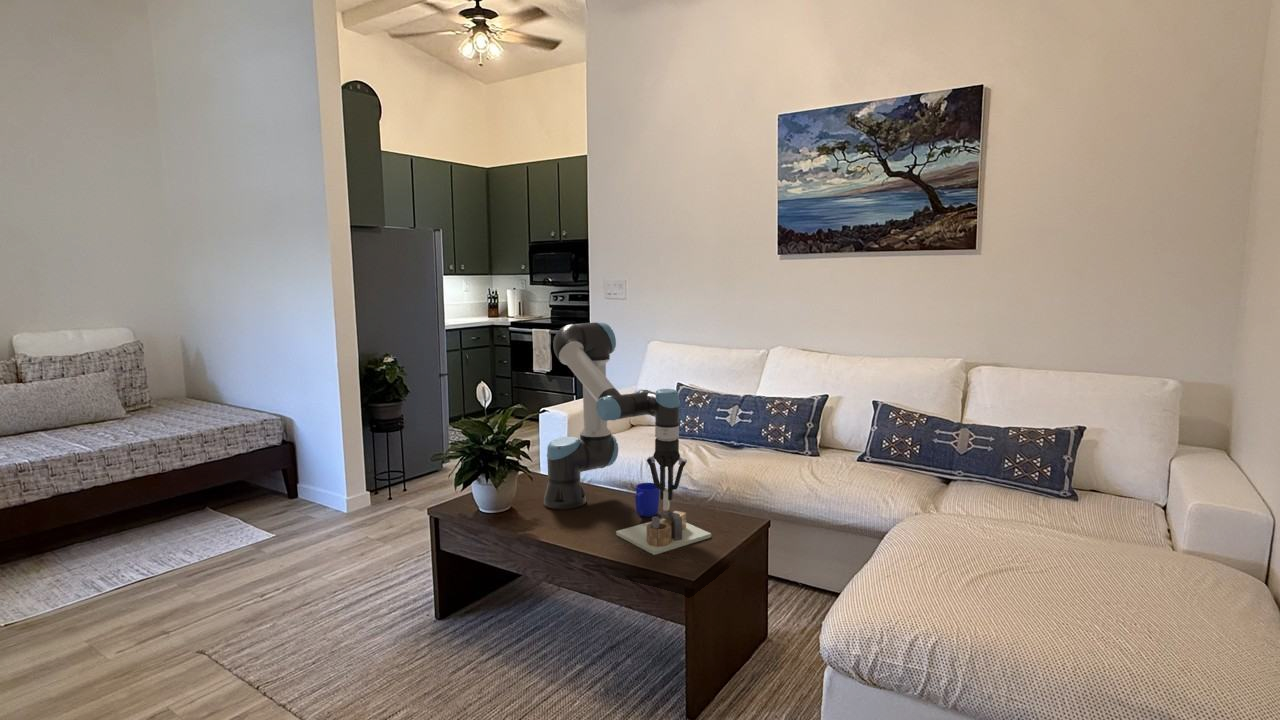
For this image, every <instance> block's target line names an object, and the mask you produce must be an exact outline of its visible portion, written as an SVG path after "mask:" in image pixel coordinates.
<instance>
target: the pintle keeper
mask: <svg viewBox="0 0 1280 720" xmlns="http://www.w3.org/2000/svg"><path fill="white" fill-rule="evenodd" d="M662 518H664V519H667V520H671V521H672V539H673V540H675V541H677V540H682V517H680V514H677V513H674V511H669V510H668V511H664V512H662V513H661V514H660V516H656V515H654V516H651V521H652V528H654V529H660V519H662Z"/></svg>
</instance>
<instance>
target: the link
mask: <svg viewBox="0 0 1280 720" xmlns="http://www.w3.org/2000/svg"><path fill="white" fill-rule="evenodd" d="M673 512H674V513H677V514H680V517H682V530H684V529H685V528H686V523H687V512H684V511H679V510H674V511H673ZM661 519H662V518H661ZM671 538H672V521H671V520H667V519H664V518H663V519H662V520H660V529H654V528H652V523H650V524H648V525H647V543H648V544H649V545H651V546H656V547H661V546H667V545H669V544H670V543H671Z"/></svg>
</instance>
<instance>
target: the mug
mask: <svg viewBox="0 0 1280 720" xmlns="http://www.w3.org/2000/svg"><path fill="white" fill-rule="evenodd" d="M635 491H636V492H635V495H634V496H635V499H634V500H635V507H636V508H635V509H636V513H637V514H638V515H639V516H641V517H642V516H643V517H646V518H647V517H648V518H651V517H654V516H656V515H657V514H658V513H659V503H660V502H659V501H660V489H659V488H655V486H654V482H643V483H638V484H636V485H635Z"/></svg>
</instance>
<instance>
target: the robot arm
mask: <svg viewBox="0 0 1280 720" xmlns="http://www.w3.org/2000/svg"><path fill="white" fill-rule="evenodd" d="M552 343H553V344H552V345H553V347H552V348H553V351H554V354H555V356H556V358H557V360H558V361H559V362H560V363H561V364H563V365H565V366H567V367H568V368H569V369H570V370H571V372H572V373H573V374H574V375H575V377H576V378H577V380H579V381H580V383H581V384H582V400H583V401H582V402H583V429H582V430H581V431H580V432H579V436H580V437H579V438H578V437H577V436H561V437H558V438H556V439H553V440H552V441H550V442H549V443H548V445H547V448H546V449H547V453H546V458H547V459H546V461H547V462H546V463H547V480H548V481H547V486H546V488H545V493H544V496H543V505H544V506H545V507H546V508H549V509H553V510H572V509H577V508H579V507H582V506H583V505H585V504H586V501H587V499H586V494H585V490H584V488H583V485H582V481H581V473H582V472H586V471H592V470H597V469H604V468H606V467H609V466H613V465H614V464H615V462H616V460H617V458H618V455H619V443H618V442H617V439H616V437H615V436H614V435H613V434H612V431H611V430H610V429H609V428H608V422H609V421H616V420H624V419H628V418H635V417H640V416H650V417H654V419H655V421H654V423H655V424H654V425H655V427H654V428H655V429H654V435H655V436H654V437H656V438H655V441H654V453H653V455H652V456H649V457H648V458H647V459H646V462H647V464H648V465H649V469H650V473H651V477H652V481H653V482H652V483H654V486H655V488H659V489H660V490H659V500H662V501H663V502H662V504H663V505H662V507H663V509H662V511H664V512H667V511H669V509H670V501H672V500H673V496H674V495H673V494H674V493H673V492H674V491H675V490H678V488H679V485H680V482H681V479H682V474H683V471H684V467H685V465H686V464H687V462H688V461H687V459H684V458H682V457H681V453H680V450H679V449H680V447H679V445H680V443H679V442H680V440H679V438H680V405H681V403H680V393H679V392H678V390H676V389H671V388H660V389H657V390H656V391H655V392H654V391H651V390H648V389H638V390H636V391H634V392H632V393H624V394H621V393H620V392H619V391H618V390H617V389H616V387H615V386H614V385H613V384H612V383H611V381H610V380H609V379H608V377H607V366H606V365H607V363H608V362H609V361H610V357H611V356H610V355H611V354H612V353H613V352H614V351H615V350H616V346H617V341H616V334H615V333H614V330H613V329H612V327H611V326H610V325H609V324H607V323H606V322H596V321H595V322H585V323H584V322H583V323H571V324H566V325H565V326H562V327H561V328H560V329H559V330H557V333H556V334H555V336H554V338H553V342H552ZM656 462H657V464H658V465H659V475H658V469H657V467H656V465H657V464H656ZM677 462H678V470H677V471H676V476H675V479H674V466H675V465H676V464H677ZM666 469H667V488H666ZM674 480H675V481H674Z"/></svg>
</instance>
